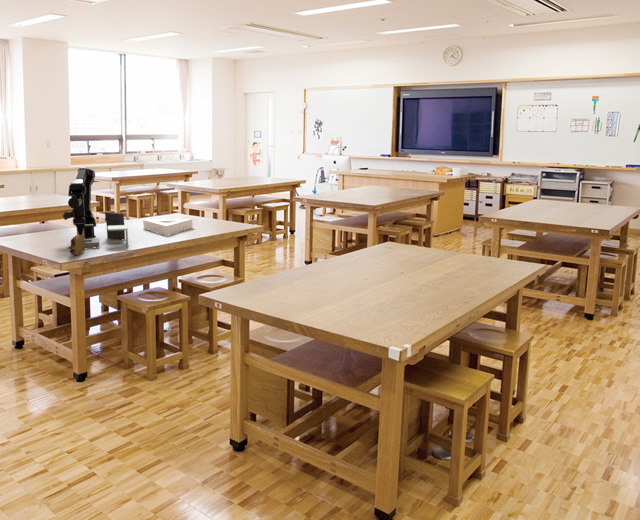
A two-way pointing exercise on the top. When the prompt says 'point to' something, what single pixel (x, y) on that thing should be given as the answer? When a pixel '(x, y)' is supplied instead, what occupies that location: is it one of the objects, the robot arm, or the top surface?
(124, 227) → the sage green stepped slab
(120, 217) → the black flat block
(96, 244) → the socket block
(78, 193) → the robot arm
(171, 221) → the white slab
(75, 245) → the wooden carving
